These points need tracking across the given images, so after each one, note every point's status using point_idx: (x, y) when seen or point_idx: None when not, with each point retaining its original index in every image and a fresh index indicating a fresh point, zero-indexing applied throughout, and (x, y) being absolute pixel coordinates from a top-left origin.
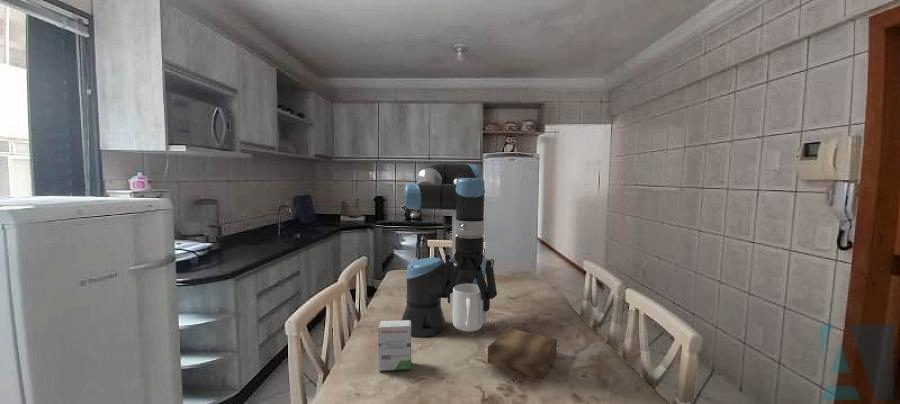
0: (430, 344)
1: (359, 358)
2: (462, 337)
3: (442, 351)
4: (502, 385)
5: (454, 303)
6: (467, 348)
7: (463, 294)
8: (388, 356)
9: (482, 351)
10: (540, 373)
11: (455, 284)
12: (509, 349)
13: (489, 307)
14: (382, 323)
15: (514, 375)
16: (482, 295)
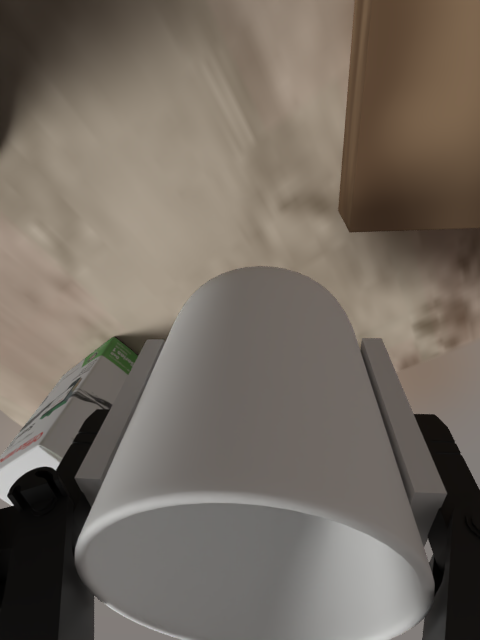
0: (63, 207)
1: (10, 386)
2: (107, 30)
3: (141, 229)
4: (430, 310)
5: (199, 516)
6: (203, 140)
7: (277, 636)
8: None
9: (277, 123)
10: None
11: (79, 600)
12: (463, 196)
13: (450, 436)
14: (6, 497)
15: (464, 235)
16: (435, 592)
